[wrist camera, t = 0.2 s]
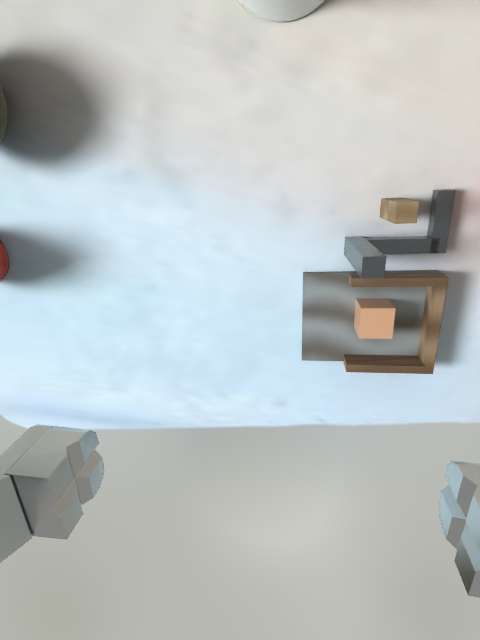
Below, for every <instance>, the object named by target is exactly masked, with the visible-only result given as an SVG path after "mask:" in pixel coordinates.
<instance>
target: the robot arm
mask: <svg viewBox="0 0 480 640" xmlns="http://www.w3.org/2000/svg"><path fill="white" fill-rule="evenodd" d="M239 1H240V2H241V3H242V5H243V6H244V7H245V8H247V9H248V10H249V11H250V12H252V13H253V14H255V15H256V16H258V17H260V18H263V19H266V20H269V21H276V22H285V21H291V20H295V19H298V18H301V17H303V16H305V15H307V14H309V13H310V12H312V11H313V10H315V9H316V8H317V7H318V6H319V5H321V4H322V3H323V2H324V1H325V0H239ZM98 444H99V442H98V438H97V435H96V432H94V431H92V430H85V429H76V428H67V427H59V426H55V427H54V426H46V425H35V426H32V427H30V428H29V429H28V430H27V431H26V432H25V433H24V434H23V435H22V436H21V437H20V438H19V439H18V440H17V441H15V442H14V443H13V444H12V445H11V446H10V447H9V448H8V449H7V450H6V451H5V452H4V453H3V454H2V455H1V456H0V563H1V562H2V561H3V560H4V559H6V558H7V557H8V556H9V555H11V554H12V553H13V552H15V551H16V550H17V549H19V548H20V547H21V546H22V545H24V544H25V543H26V542H28V541H29V540H30V539H32V536H38V537H48V538H58V539H67V538H68V537H69V535H70V533H71V532H72V530H73V529H74V527H75V526H76V524H77V523H78V521H79V520H80V518H81V516H82V515H83V504H84V503H86V502H87V501H89V500H90V499H92V498H93V497H94V496H95V494H96V493H97V491H98V489H99V488H100V485H101V481H102V478H103V475H104V472H103V471H104V464H103V459H102V457H101V456H100V455H99V454H98V453H97V452H96V450H95V449H96V447H97V446H98ZM445 476H446V478H447V481H448V482H449V485H448V486H447V487H446V488H444V489H443V490H442V491H441V494H440V500H439V516H440V521H441V525H442V528H443V531H444V534H445V537H446V539H447V540H448V541H449V542H450V543H451V544H452V545H453V546H454V547H455V548H457V553H456V557H455V563H456V566H457V568H458V571H459V573H460V576H461V578H462V581H463V583H464V586H465V589H466V591H467V594H468V596H474V597H480V463H469V462H456V461H455V462H454V461H451V462H450V463H449V464H448V466H447V470H446V473H445Z"/></svg>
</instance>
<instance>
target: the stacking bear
mask: <svg viewBox="0 0 480 640" xmlns="http://www.w3.org/2000/svg"><path fill="white" fill-rule="evenodd" d="M8 265H9V261H8V255H7V252H6V250H5V248H4V246H3V244H2V243H1V241H0V280H1V279H2V278H3V277H4V276H5V275H6V273H7V270H8Z"/></svg>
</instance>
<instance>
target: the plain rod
mask: <svg viewBox="0 0 480 640" xmlns="http://www.w3.org/2000/svg"><path fill="white" fill-rule="evenodd" d="M418 207H419V201H414V200H409V199H403V198H385V199H381V209H380V217H381V218H383V219H385V220H388V221H390V222H392V223H394V224H402V223H417V215H418Z"/></svg>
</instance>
